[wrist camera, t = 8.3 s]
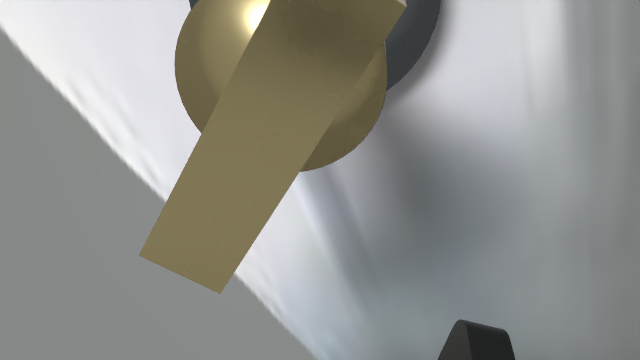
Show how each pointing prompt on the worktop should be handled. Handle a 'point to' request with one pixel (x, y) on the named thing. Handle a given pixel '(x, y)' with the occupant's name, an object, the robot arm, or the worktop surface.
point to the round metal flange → (405, 37)
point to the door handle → (265, 116)
